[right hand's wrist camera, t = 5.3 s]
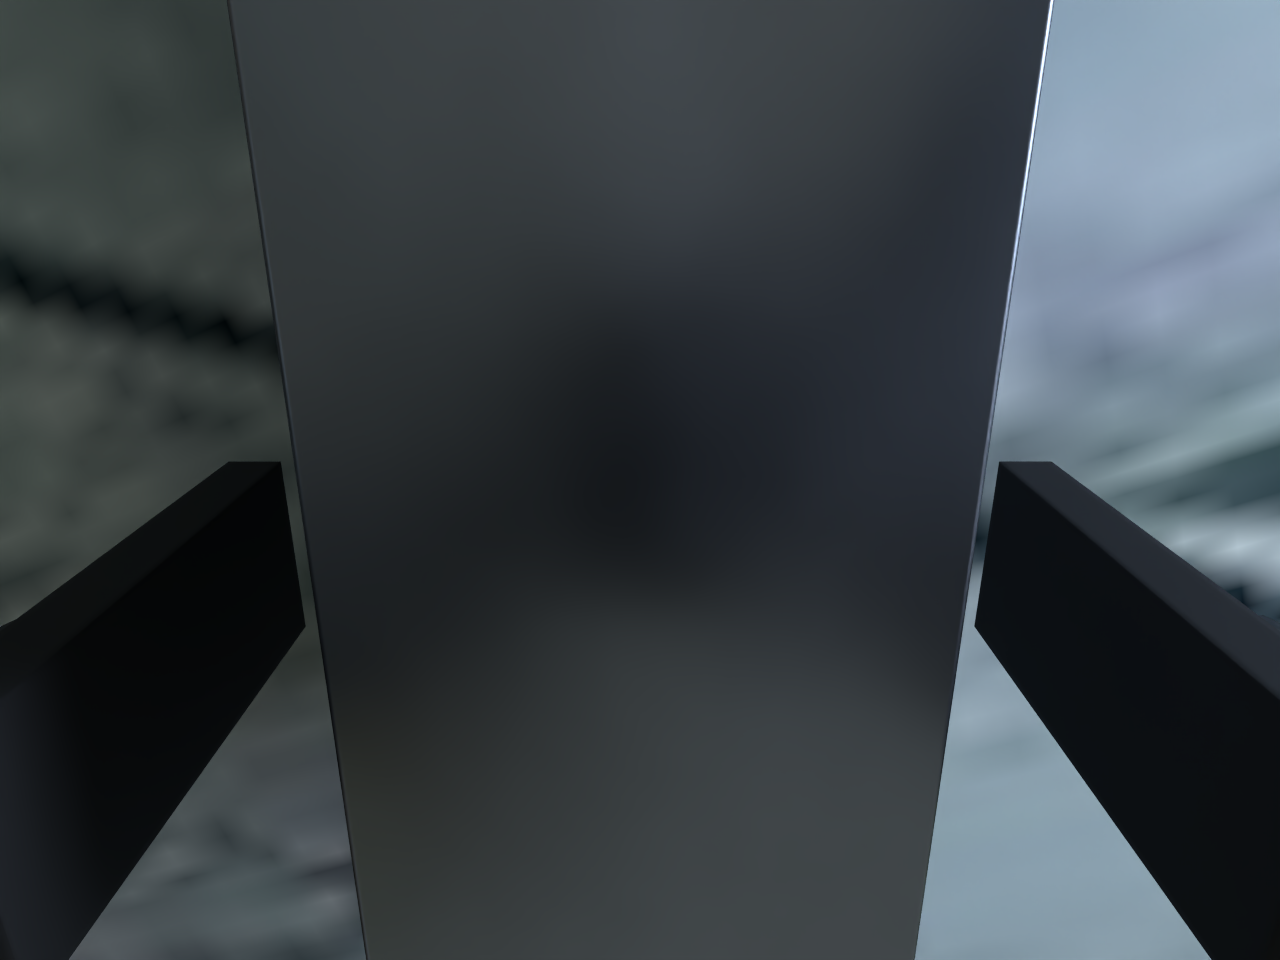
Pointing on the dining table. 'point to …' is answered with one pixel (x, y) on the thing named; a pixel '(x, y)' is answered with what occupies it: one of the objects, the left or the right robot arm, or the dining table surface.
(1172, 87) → the dining table surface
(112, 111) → the dining table surface
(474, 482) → the bar
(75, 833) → the right robot arm
